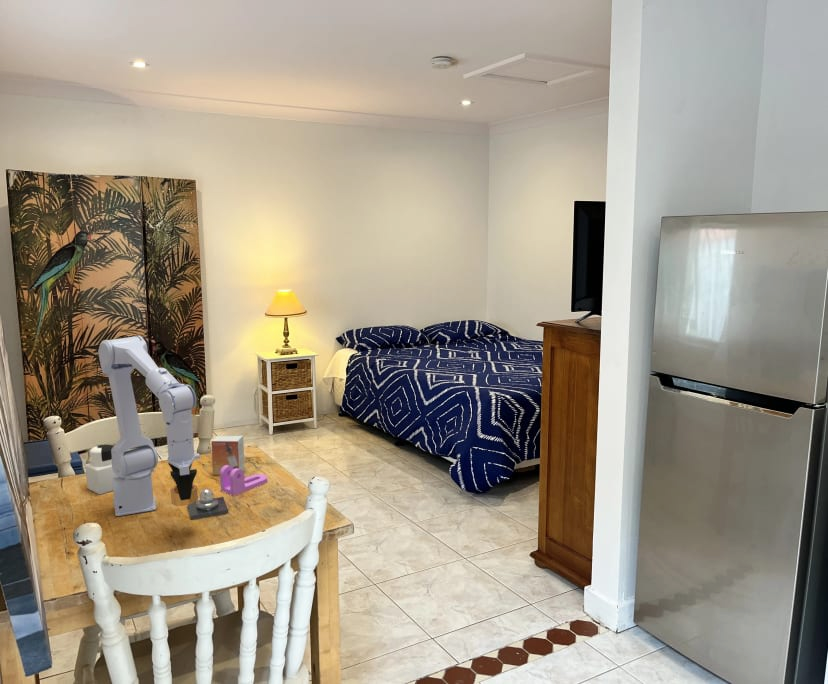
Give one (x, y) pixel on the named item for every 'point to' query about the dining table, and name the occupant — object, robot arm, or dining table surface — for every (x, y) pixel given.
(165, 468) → the dining table surface
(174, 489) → the wooden ring
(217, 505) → the stand
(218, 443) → the small box
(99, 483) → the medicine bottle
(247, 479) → the bracket
